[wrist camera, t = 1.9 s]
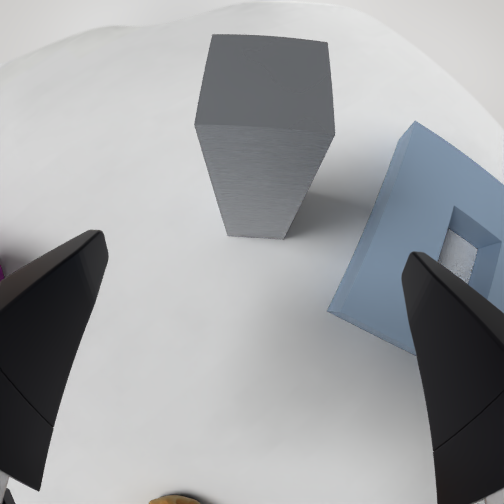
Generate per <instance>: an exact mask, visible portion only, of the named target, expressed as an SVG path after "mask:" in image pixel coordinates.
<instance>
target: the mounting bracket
mask: <svg viewBox="0 0 504 504" xmlns="http://www.w3.org/2000/svg"><path fill="white" fill-rule="evenodd" d="M3 279H4V276H3V271H2V268H1V265H0V282H1V280H3Z"/></svg>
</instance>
